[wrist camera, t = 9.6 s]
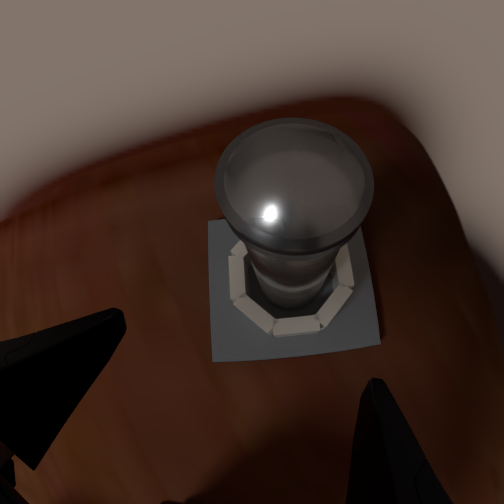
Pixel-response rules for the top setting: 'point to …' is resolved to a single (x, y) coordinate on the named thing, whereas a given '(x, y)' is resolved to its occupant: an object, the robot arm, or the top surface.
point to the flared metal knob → (293, 202)
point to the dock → (286, 321)
